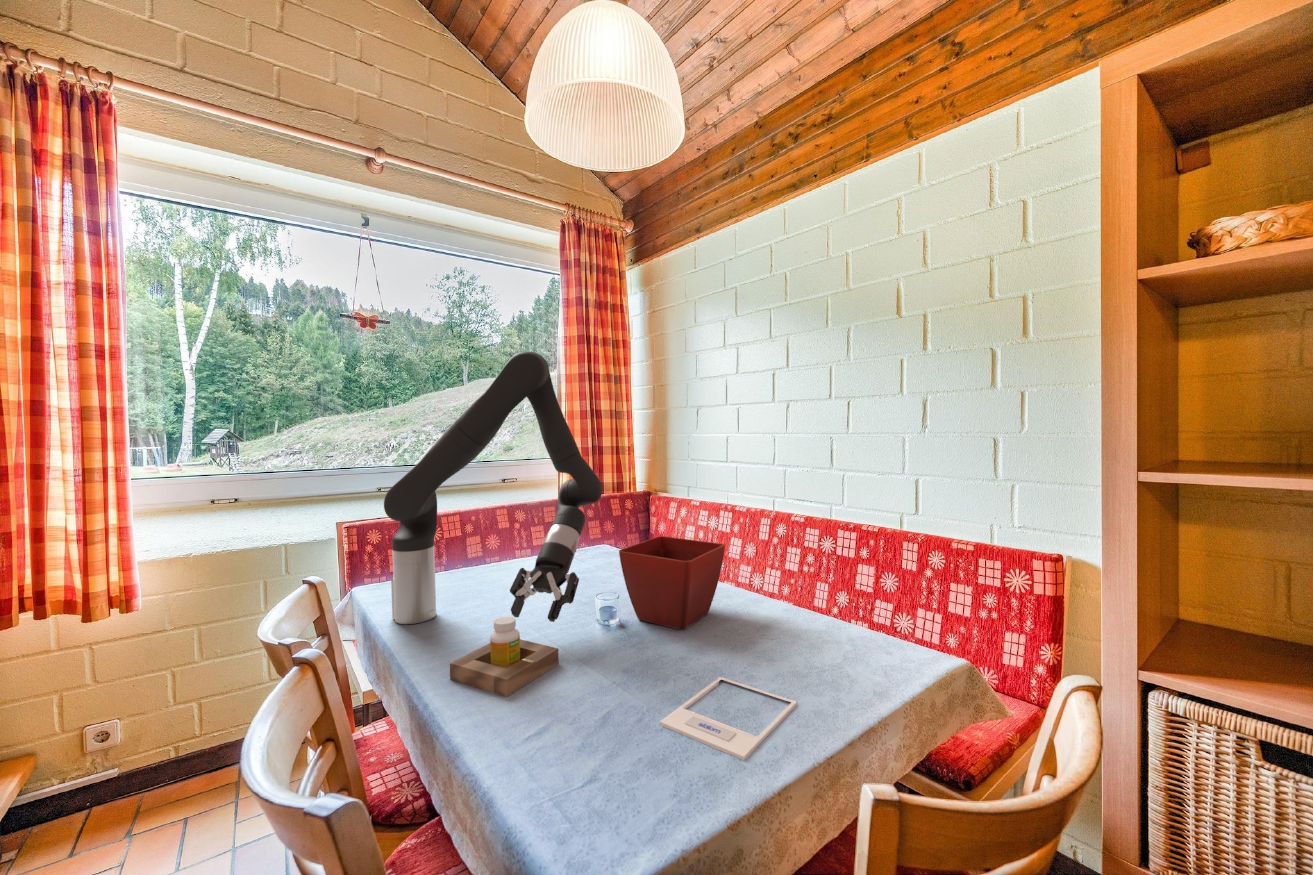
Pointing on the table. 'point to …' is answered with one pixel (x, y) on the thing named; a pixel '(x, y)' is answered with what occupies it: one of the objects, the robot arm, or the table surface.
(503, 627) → the supplement bottle
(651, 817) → the table surface
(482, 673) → the socket block
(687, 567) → the plant pot
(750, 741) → the photo frame
